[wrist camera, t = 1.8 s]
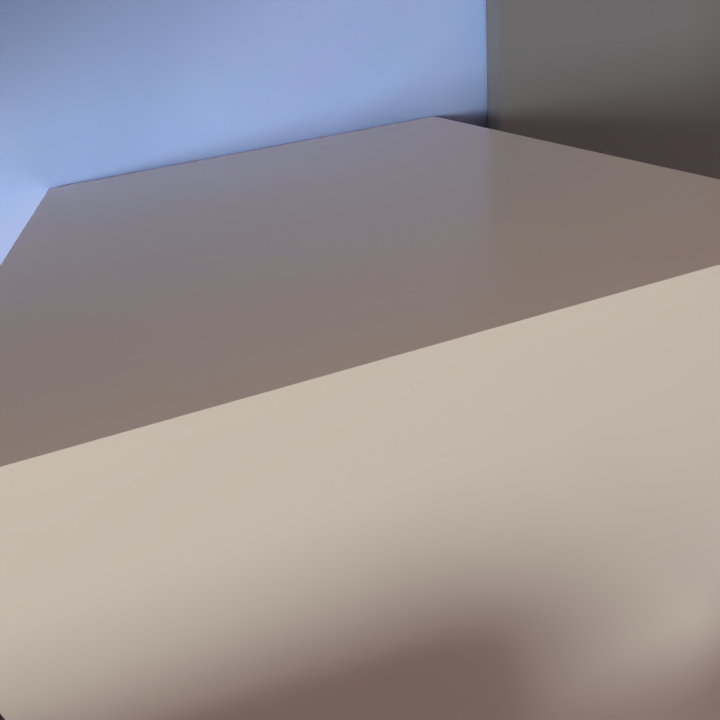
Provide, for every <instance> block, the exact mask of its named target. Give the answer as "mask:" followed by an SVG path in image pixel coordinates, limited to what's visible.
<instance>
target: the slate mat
mask: <svg viewBox="0 0 720 720" xmlns="http://www.w3.org/2000/svg"><path fill="white" fill-rule="evenodd" d="M486 20H487V89H488V128H489V129H493V130H498V131H503V132H507V133H512V134H516V135H521V136H525V137H530V138H534V139H539V140H543V141H548V142H552V143H557V144H561V145H566V146H570V147H575V148H580V149H584V150H589V151H593V152H598V153H602V154H607V155H611V156H616V157H620V158H625V159H629V160H634V161H638V162H643V163H647V164H652V165H656V166H661V167H666V168H670V169H675V170H679V171H684V172H688V173H693V174H697V175H702V176H706V177H711V178H715V179H720V0H486Z"/></svg>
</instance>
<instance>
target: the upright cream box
mask: <svg viewBox="0 0 720 720" xmlns="http://www.w3.org/2000/svg"><path fill="white" fill-rule="evenodd" d="M0 714H1V715H2V716H3V718H4V719H5V720H720V179H715V178H711V177H706V176H702V175H697V174H693V173H688V172H684V171H679V170H675V169H670V168H666V167H661V166H656V165H652V164H647V163H643V162H638V161H634V160H629V159H625V158H620V157H616V156H611V155H607V154H602V153H598V152H593V151H589V150H584V149H580V148H575V147H570V146H566V145H561V144H557V143H552V142H548V141H543V140H539V139H534V138H530V137H525V136H521V135H516V134H512V133H507V132H503V131H498V130H493V129H489V128H484V127H480V126H475V125H471V124H466V123H462V122H457V121H453V120H448V119H444V118H439V117H435V116H432V117H427V118H421V119H416V120H411V121H405V122H400V123H395V124H390V125H384V126H379V127H374V128H368V129H363V130H358V131H352V132H347V133H342V134H336V135H331V136H326V137H320V138H315V139H310V140H305V141H299V142H294V143H289V144H283V145H278V146H273V147H267V148H262V149H257V150H251V151H246V152H241V153H235V154H230V155H225V156H220V157H214V158H209V159H204V160H198V161H193V162H188V163H182V164H177V165H172V166H166V167H161V168H156V169H150V170H145V171H140V172H135V173H129V174H124V175H119V176H113V177H108V178H103V179H97V180H92V181H87V182H81V183H76V184H71V185H65V186H60V187H55V188H50V189H49V190H48V191H47V193H46V195H45V196H44V198H43V199H42V201H41V202H40V204H39V206H38V207H37V209H36V210H35V212H34V213H33V215H32V217H31V218H30V220H29V221H28V223H27V224H26V226H25V228H24V229H23V231H22V232H21V234H20V236H19V237H18V239H17V240H16V242H15V243H14V245H13V247H12V248H11V250H10V251H9V253H8V254H7V256H6V258H5V259H4V261H3V262H2V264H1V265H0Z"/></svg>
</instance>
